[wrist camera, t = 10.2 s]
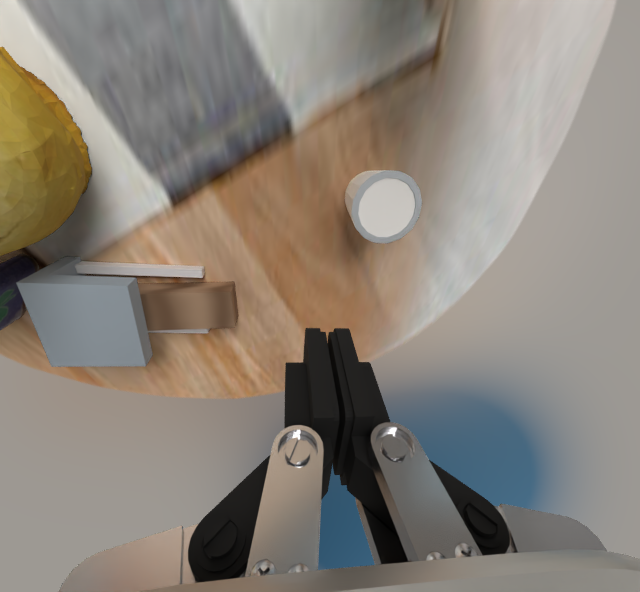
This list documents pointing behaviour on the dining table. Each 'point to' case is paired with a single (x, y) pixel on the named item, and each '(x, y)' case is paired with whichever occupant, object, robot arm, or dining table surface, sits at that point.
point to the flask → (14, 287)
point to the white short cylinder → (383, 204)
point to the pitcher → (36, 159)
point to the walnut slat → (189, 305)
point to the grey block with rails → (94, 311)
